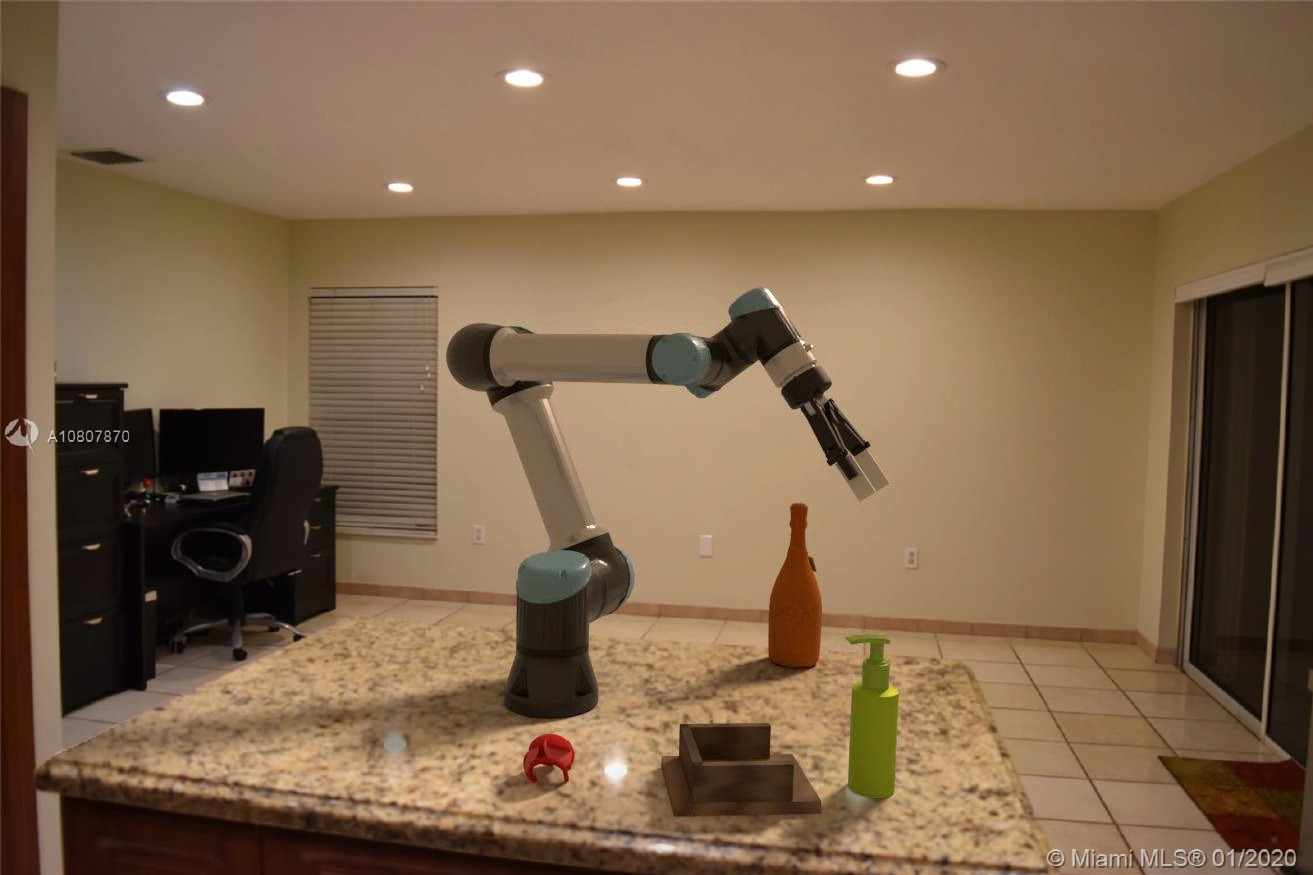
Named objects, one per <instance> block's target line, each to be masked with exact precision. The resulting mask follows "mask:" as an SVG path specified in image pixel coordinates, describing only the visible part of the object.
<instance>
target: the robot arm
mask: <svg viewBox="0 0 1313 875" xmlns="http://www.w3.org/2000/svg"><path fill="white" fill-rule="evenodd" d="M727 312H728V315H729V317H730V322H729V323H728V324H727V325H725V327H723V328H722V329H721V330H719V331H718V332H716V333H715V334H714V335H712V336H711V337H703V336H698V335H694V334H692V333H689V332H675V333H671V334H655V333H654V334H652V333H651V334H648V333H646V334H645V333H643V334H642V333H641V334H637V333H633V334H631V333H630V334H628V333H627V334H624V333H622V334H620V333H618V334H615V333H614V334H613V333H608V334H607V333H601V334H600V333H537V332H535V331H533V330H530V329H528V328H525V327H522V326H519V325H518V326H514V325H513V326H512V325H511V326H510V325H509V326H505V325H499V324H492V323H485V322H478V323H477V322H476V323H470V324H467V325H465V326H464V327H462V328H461V329H459V330H457V332H456V331H455V333H454V334H453V336H452V337H451V339H450V341H449V343H448V344H447V347H446V354H445V359H446V365H447V369H448V371H449V372H450V375H451V376H452V378H453V379H454V380H455V381H456V382H457V383H458V384H459V385H461V386H462V387H464V388H466V389H468V390H471V391H473V392H474V391H476V392H482V393H483V392H485V394H486V395H487V398H488V401H489V403H490V406H491V409H492V411H493V412H496V413H498V414H500V415H502V416H503V417H504V420H505V423H506V424H507V428H508V430H509V433H510V436H511V439H512V440H513V444H514V446H515V449H516V452H517V455H518V457H519V460H520V463H521V465H522V468H523V470H524V473H525V476H526V479H527V482H528V485H529V487H530V490H531V493H532V495H533V498H534V501H535V503H536V506H537V509H538V512H539V515H540V517H541V520H542V522H543V523H542V524H543V525H544V528H545V532H546V533H547V536H548V538H549V539H548V540H549V542H550V543H549V546H548V548H547V551H546V552H539V553H538V552H537V553H535V554H532V555H530V556H528V557H526V558H525V559H523V561H522V562H520V564H519V567H518V570H517V579H516V581H515V582H516V583H515V591H516V613H515V614H516V615H515V616H516V618H515V619H516V620H515V621H516V623H515V626H516V627H515V628H516V630H515V631H516V633H515V642H516V643H515V656H514V658H513V662H512V665H511V667H510V670H509V674H508V676H507V679H506V681H505V685H504V688H503V704H504V706H505V708H507V709H508V710H510V711H512V712H514V713H517V714H520V715H524V716H527V717H528V716H529V717H536V718H562V717H570V716H571V717H572V716H575V715H580V714H583V713H586V712H588V711H590V710H593V709H594V708H595V707H596V706H597V705H598V703H599V697H600V696H599V692H600V690H599V684H598V681H597V677H596V674H595V671H594V667H593V664H592V660H591V657H590V650H589V648H590V644H589V643H590V642H589V641H590V624H591V623H593V622H594V621H597V620H600V619H601V618H603V617H606V616H607V615H611V614H613V613H614V612H616V611H617V610H618V609H619V608H621V607H622V606H623V605H624V604H625V603H626V602H627V601H628V599H629V598H630V596H631V595H632V592H633V590H634V587H635V586H634V585H635V570H634V569H635V568H634V566H633V563H632V560H631V559H630V558H629V555H628V554H626V552H625V551H623V549H622V550H621V549H620V548H619V547H617V546H616V545H614V543H613V540H612V537H611V534H610V532H609V530H608V529H606V528H603V527H601V526H599V525H598V524H597V522H596V519H595V516H594V514H593V511H592V508H591V506H590V504H589V503H590V502H589V500H588V498H587V495H586V493H585V490H584V487H583V485H582V482H581V479H580V476H579V474H578V471H577V469H576V466H575V462H574V461H573V458H572V455H571V453H570V450H569V446H568V445H567V441H566V439H565V437H564V434H563V432H562V429H561V426H560V423H559V421H558V418H557V414H556V412H555V410H554V408H553V407H554V406H553V405H552V403H551V397H552V394H553V392H554V390H555V385H554V383H555V382H557V383H559V382H561V383H597V384H599V383H600V384H601V383H602V384H632V385H633V384H638V385H639V384H640V385H663V386H664V385H665V386H666V385H667V386H669V385H670V386H675V387H685V389H687V391H688V392H689V393H690V394H691V395H693V396H695V397H696V398H698V399H706V398H707V397H709V396H711V395H712V394H714V393H715V392H719V391H721V390H722V388H723V387H724V386H726V385H727V384H729V382H731V381H732V380H734V379H735V378H736V377H737V376H739V375H741V373H743V372H745V371H746V370H747V369H749V368H750V367H751V366H753V365H754V364H755V363H757V362H758V361H759V362H760V364H761V365H762V367H763V369H764V371H765V372H766V373H767V375H768V376H769V378H770V379H771V381H772V382H773V384H774V386H775V387H776V388H778V389H779V388H780V395H781V396H782V398H783V399H784V400H785V402H786V404H787V405H788V407H789V408H790V409H791V410H798V409H800V412H801V413H802V414H803V416H804V417H805V419H806V420H807V422H808V424H809V426H810V428H811V430H812V432H813V434H814V436H815V438H816V439H817V441H818V444H819V446H820V448H821V450H822V452H823V454H824V456H825V458H826V460H825V462H826V463H827V465H828V466H829V467H832V466H833V465H834V466H835V467H836V468H837V470H838V471H839V473H840V474H841V475H842V477H843V479H844V480H845V482H846V483H847V485H848V486H849V488H850V490H851V491H852V493H853V494H854V495H855V497H856V499H857V500H858V502H862V501H864V500H866V499H867V498H869V497H870V496H872V495H873V494H875V493H877V492H879V491H880V490H881V489H883V488H884V487H886V486H889V484H891V482H890V480H889V478H888V477H887V476H886V475H885V473H884V471H883V470H882V468H881V467H880V465H879V464H878V462H877V461H876V460H875V458H874V456H873V455H872V454H871V452H870V451H869V448H870V447H871V446H872V445H871V443H870V441H869V440H865V439H864V438H863V436H861V434H860V433H859V431H857V429H856V428H855V427H854V425H852V423H851V422H850V420H849V419H848V418H847V417H846V416H845V415H844V413H843V412H842V411H841V409H840V408H839V407H838V405H837V403H836V402H835V400H834V399H833V398H832V397H830V398H827V397H826V396H825V395H824V393H825V392H826V391H828V390H829V389H830V388H831V387H832V385H833V381H832V379H831V378H830V376H828V374H827V372H826V371H825V369H824V368H823V366H822V365H821V366H820V365H819V364H818V365H817V363H818V360H817V358H816V357H815V355H814V353H813V352H811V350H813V349H814V347H813V345H812V344H811V343H809V344H807V343H806V342H805V340H804V338H803V337H802V335H801V334H800V333H799V331H798V329H797V328H796V326H795V325H794V323H793V321H792V320H791V319H790V317H789V316H788V314H787V312H786V311H785V309H784V307H783V306H782V305H781V304H780V303H779V301H778V300H777V299H776V298H775V296H774V295H773V294H772V292H771V291H770V290H769V289H768V288H767V287H762V286H759V287H755V288H752V289H749V290H748V291H747V292H745V293H744V292H743V294H741V295H740V296H739V297H738V298H736V299H735V300H734V302H732V303H731V304H730V305H729V307H728V311H727ZM553 382H554V383H553Z"/></svg>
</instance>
